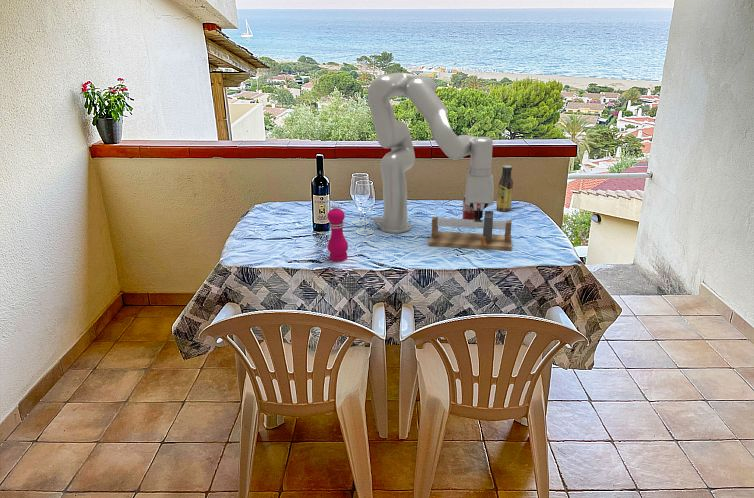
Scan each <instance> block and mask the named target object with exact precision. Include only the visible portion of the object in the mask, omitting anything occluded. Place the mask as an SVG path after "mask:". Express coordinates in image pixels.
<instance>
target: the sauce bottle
mask: <svg viewBox="0 0 754 498" xmlns="http://www.w3.org/2000/svg"><path fill="white" fill-rule="evenodd" d="M512 170H513V166H512V165H509V164H507V165H503V166H502V174H501V178H500V179H499V182H498V184H497V198H496V210H497V211H500V212H509V211H510V210H511V206H512V199H513V189H514V188H513V185H514V181H513V178H512Z"/></svg>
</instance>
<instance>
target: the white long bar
mask: <svg viewBox="0 0 754 498" xmlns="http://www.w3.org/2000/svg"><path fill="white" fill-rule="evenodd" d="M437 226H438V227H445V228H447V227H450V228H464V229H465V228H466V229H467V228H469V229H483V228H484V219H480V220H469V219H462V218H449V217H448V218H445V217H443V218H442V217H438V220H437ZM505 228H506V220H493V225H492V230H505Z"/></svg>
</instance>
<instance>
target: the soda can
mask: <svg viewBox="0 0 754 498" xmlns="http://www.w3.org/2000/svg"><path fill="white" fill-rule="evenodd" d="M462 198H463V199H462V218H461V219H469V220H476V218H474V214H475V210H474V209H473V208H472V207H471V206H470V205H466V204H465V194H464V196H463V197H462ZM477 207H478V209H480V207H481V204H480V203H477ZM478 218H479V215H478Z"/></svg>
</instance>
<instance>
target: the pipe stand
mask: <svg viewBox="0 0 754 498" xmlns="http://www.w3.org/2000/svg"><path fill="white" fill-rule="evenodd" d="M438 218H439V216H433V217H432V219H431V235H430V238H429V240H428V246H429V247H442V248H443V247H444V248H457V249H458V248H459V249H471V250H472V249H475V250H492V251H508V252H509V251H510V252H512V248H513V247H512V246H513V245H512V242H513V241H512V222H513V221H512V220H509V219H508V220H507V219H506V220H505V221H506V228H505V231H504V234H493V233H492V239H488V238H485V237H483V234H484V228H482V229H483V230H482V233H476V232H475V233H474V232H459V231H458V232H457V231H456V232H455V231H440V230H439V226H437V220H438Z"/></svg>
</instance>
